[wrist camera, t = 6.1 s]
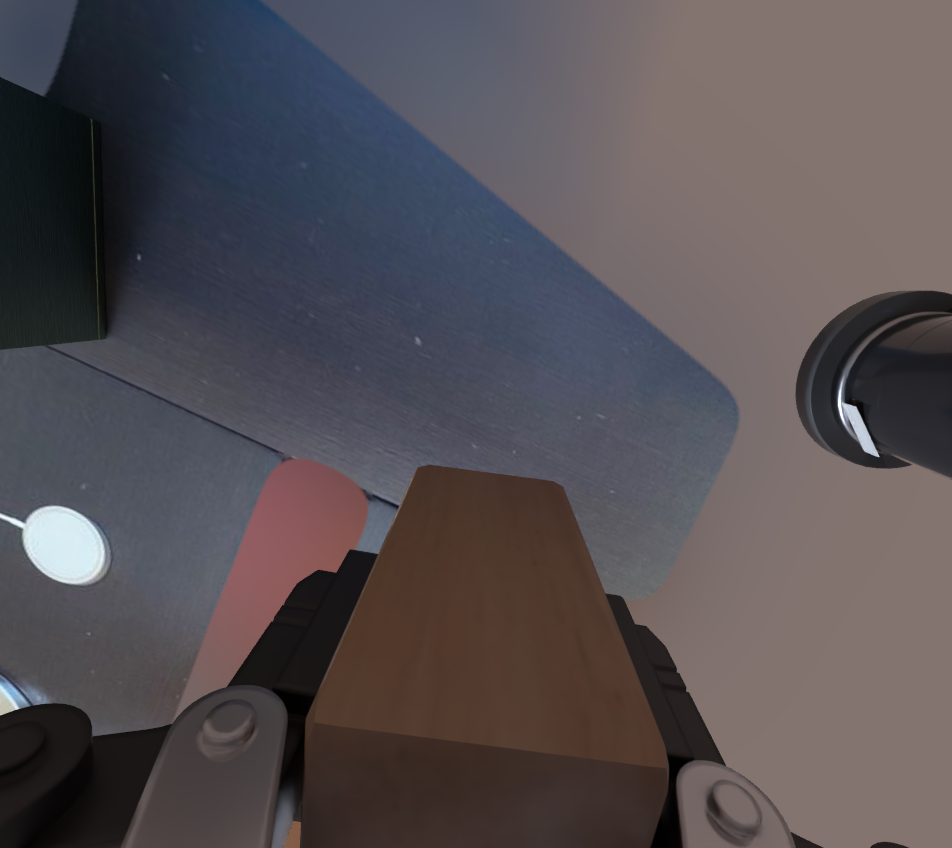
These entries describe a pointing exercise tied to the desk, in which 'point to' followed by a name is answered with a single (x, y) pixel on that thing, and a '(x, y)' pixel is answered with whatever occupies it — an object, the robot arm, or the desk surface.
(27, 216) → the waste bin
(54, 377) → the desk surface
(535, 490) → the wooden block
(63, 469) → the desk surface
